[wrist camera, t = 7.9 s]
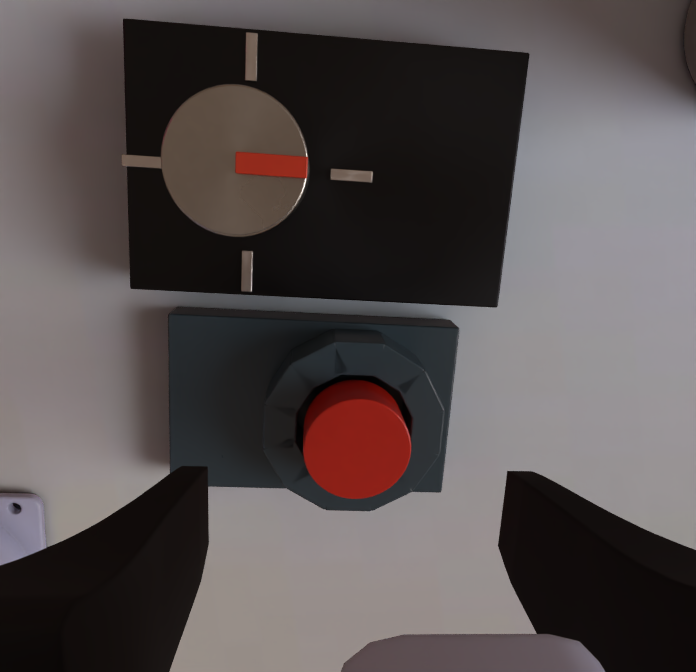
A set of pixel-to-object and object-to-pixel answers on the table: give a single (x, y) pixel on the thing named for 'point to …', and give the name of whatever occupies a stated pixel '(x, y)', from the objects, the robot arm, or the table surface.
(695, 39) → the travel mug
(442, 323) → the button box
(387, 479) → the stop button
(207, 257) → the panel
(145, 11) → the table surface
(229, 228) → the burner knob
